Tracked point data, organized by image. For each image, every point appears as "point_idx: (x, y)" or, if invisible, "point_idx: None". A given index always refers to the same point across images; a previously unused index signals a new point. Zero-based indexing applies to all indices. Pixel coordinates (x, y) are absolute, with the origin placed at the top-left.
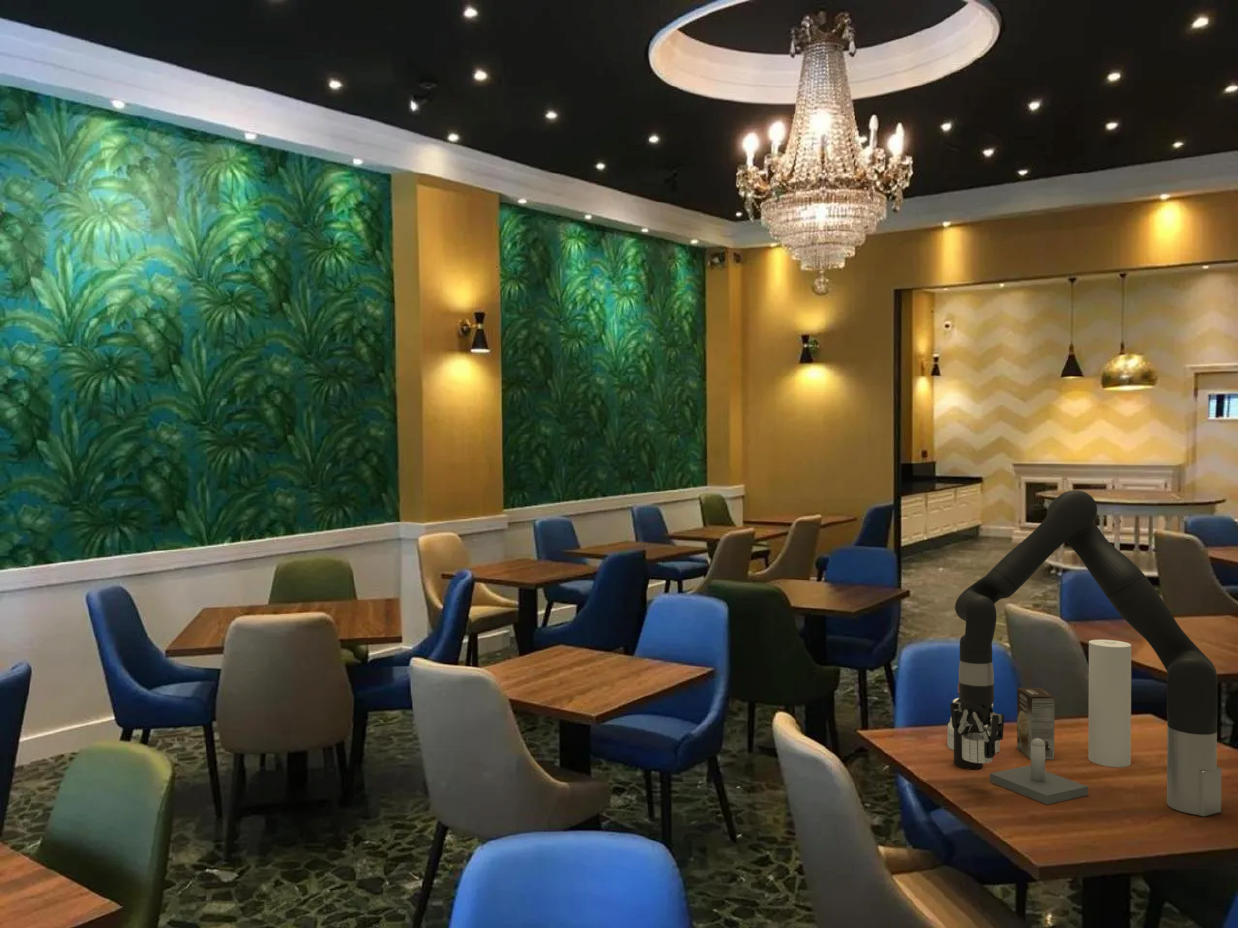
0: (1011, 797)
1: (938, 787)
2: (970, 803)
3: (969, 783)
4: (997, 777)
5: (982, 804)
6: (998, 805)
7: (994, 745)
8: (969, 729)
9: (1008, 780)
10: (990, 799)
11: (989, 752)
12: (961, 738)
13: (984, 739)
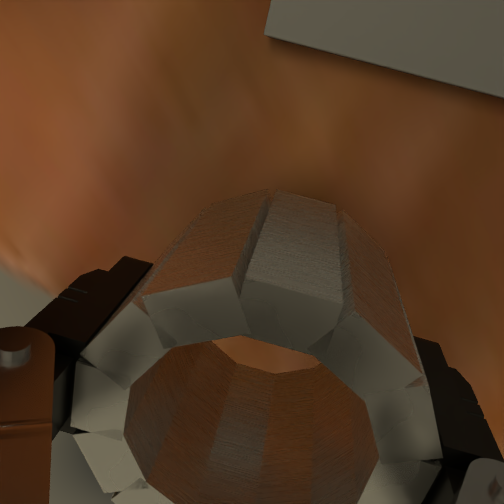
0: (485, 198)
1: None
2: None
3: (208, 165)
4: (331, 51)
5: None
6: (471, 347)
7: (496, 456)
8: (55, 381)
9: (429, 77)
10: (406, 303)
11: None
12: None
13: (368, 482)
